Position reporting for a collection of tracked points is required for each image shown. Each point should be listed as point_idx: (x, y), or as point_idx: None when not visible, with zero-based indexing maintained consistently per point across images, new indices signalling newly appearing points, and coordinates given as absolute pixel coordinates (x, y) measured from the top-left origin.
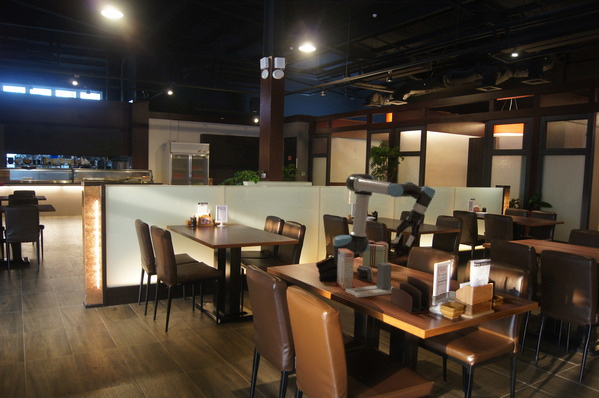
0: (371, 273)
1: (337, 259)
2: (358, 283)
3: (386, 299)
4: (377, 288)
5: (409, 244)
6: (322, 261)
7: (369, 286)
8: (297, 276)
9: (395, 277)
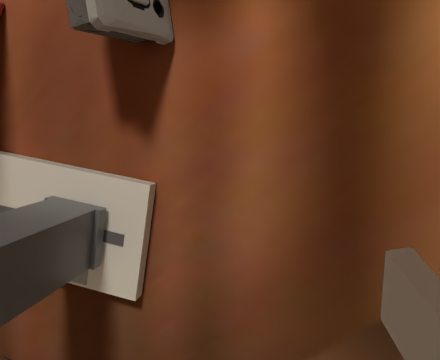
0: (128, 34)
1: None
2: (66, 38)
3: (9, 325)
4: None
5: (401, 340)
6: None
7: (35, 165)
8: None
9: (409, 23)
